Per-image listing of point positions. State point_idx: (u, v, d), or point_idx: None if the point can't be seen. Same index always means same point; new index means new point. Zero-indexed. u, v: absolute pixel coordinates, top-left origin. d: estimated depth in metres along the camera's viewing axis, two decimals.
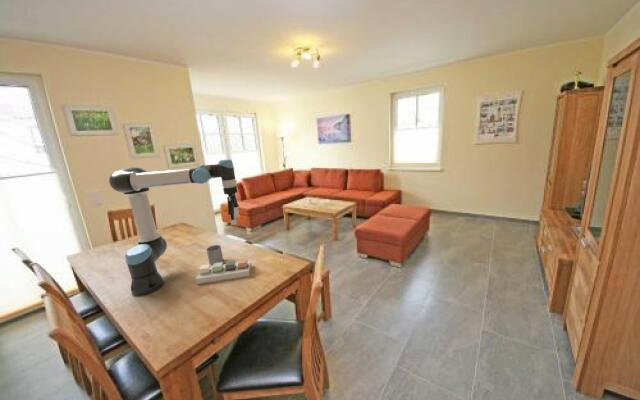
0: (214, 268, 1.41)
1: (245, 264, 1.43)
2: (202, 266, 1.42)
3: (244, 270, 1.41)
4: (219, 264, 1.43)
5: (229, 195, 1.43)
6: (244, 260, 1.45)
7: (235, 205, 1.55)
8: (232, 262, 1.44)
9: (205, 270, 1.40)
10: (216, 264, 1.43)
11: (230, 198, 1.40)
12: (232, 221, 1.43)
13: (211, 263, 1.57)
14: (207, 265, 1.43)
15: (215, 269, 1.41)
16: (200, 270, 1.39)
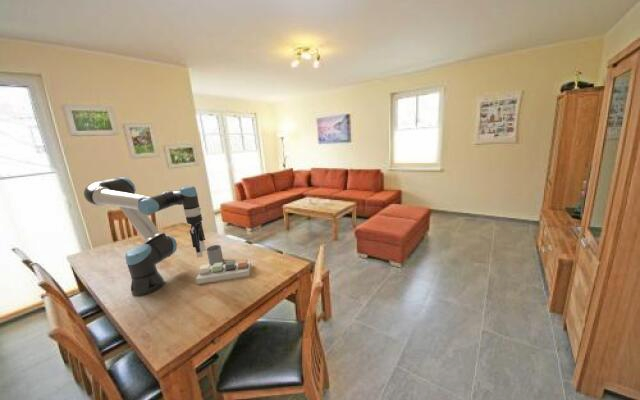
0: (214, 268, 1.41)
1: (245, 264, 1.43)
2: (202, 266, 1.42)
3: (244, 270, 1.41)
4: (219, 264, 1.43)
5: (192, 225, 1.31)
6: (244, 260, 1.45)
7: (201, 238, 1.41)
8: (232, 262, 1.44)
9: (205, 270, 1.40)
10: (216, 264, 1.43)
11: (193, 231, 1.29)
12: (198, 253, 1.36)
13: (211, 263, 1.57)
14: (207, 265, 1.43)
15: (215, 269, 1.41)
16: (200, 270, 1.39)
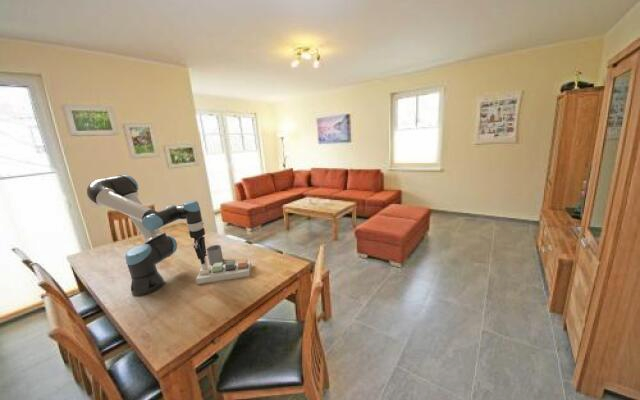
0: (214, 268, 1.41)
1: (245, 264, 1.43)
2: None
3: (244, 270, 1.41)
4: (219, 264, 1.43)
5: (195, 239, 1.33)
6: (244, 260, 1.45)
7: None
8: (232, 262, 1.44)
9: (205, 271, 1.40)
10: (216, 264, 1.43)
11: (197, 247, 1.32)
12: (203, 265, 1.41)
13: (211, 263, 1.57)
14: None
15: (215, 269, 1.41)
16: (200, 271, 1.40)
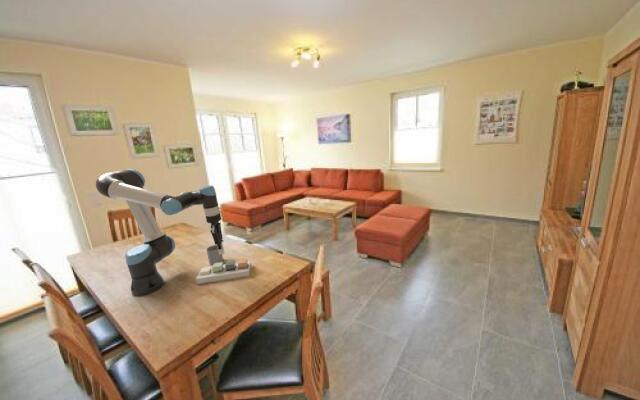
0: (214, 268, 1.41)
1: (245, 264, 1.43)
2: (203, 269, 1.43)
3: (244, 270, 1.41)
4: (219, 264, 1.43)
5: (212, 224, 1.33)
6: (244, 260, 1.45)
7: None
8: (232, 262, 1.44)
9: (206, 273, 1.40)
10: (216, 264, 1.43)
11: (214, 231, 1.31)
12: (219, 250, 1.40)
13: (211, 263, 1.57)
14: (208, 268, 1.43)
15: (215, 269, 1.41)
16: (201, 273, 1.40)
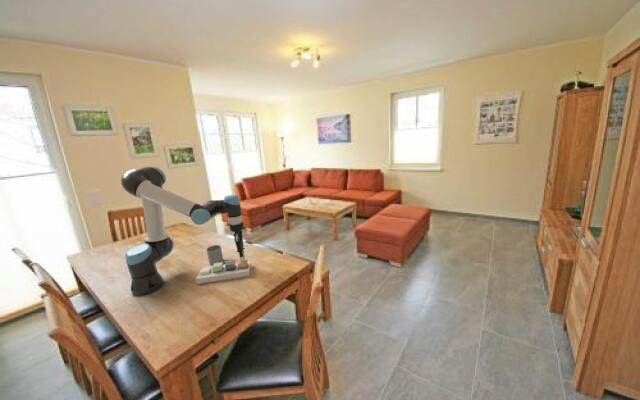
0: (214, 268, 1.41)
1: (245, 264, 1.43)
2: (203, 269, 1.43)
3: (244, 270, 1.41)
4: (219, 264, 1.43)
5: (235, 232, 1.36)
6: (244, 261, 1.45)
7: None
8: (232, 262, 1.44)
9: (206, 273, 1.40)
10: (216, 264, 1.43)
11: (238, 240, 1.35)
12: (241, 258, 1.44)
13: (211, 263, 1.57)
14: (208, 268, 1.43)
15: (215, 269, 1.41)
16: (201, 273, 1.40)
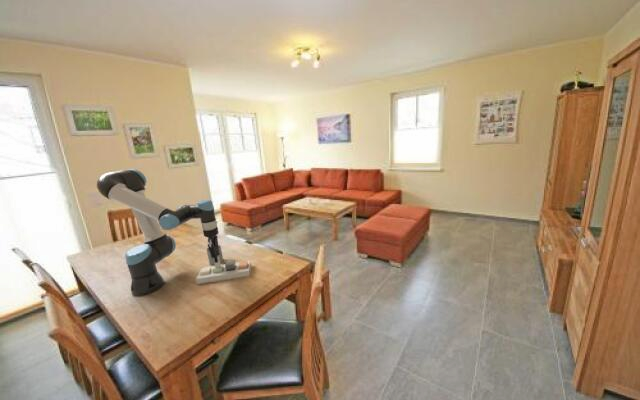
0: (214, 270, 1.41)
1: (245, 267, 1.44)
2: (203, 269, 1.43)
3: (244, 270, 1.41)
4: None
5: (209, 238, 1.35)
6: (244, 263, 1.46)
7: None
8: (232, 262, 1.44)
9: (206, 273, 1.40)
10: None
11: (211, 245, 1.33)
12: (216, 263, 1.42)
13: (211, 263, 1.57)
14: (208, 268, 1.43)
15: (215, 271, 1.41)
16: (201, 273, 1.40)
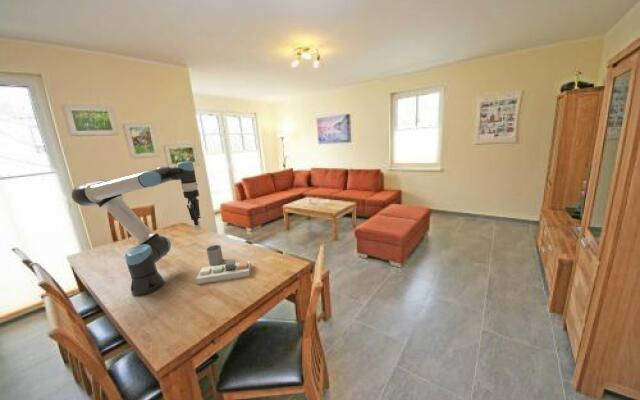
0: (215, 271, 1.41)
1: (245, 267, 1.44)
2: (203, 269, 1.43)
3: (244, 270, 1.41)
4: (220, 267, 1.43)
5: (189, 199, 1.35)
6: (244, 263, 1.46)
7: None
8: (232, 262, 1.44)
9: (206, 273, 1.40)
10: (217, 267, 1.44)
11: (190, 206, 1.34)
12: (196, 226, 1.43)
13: (211, 263, 1.57)
14: (208, 268, 1.43)
15: (216, 272, 1.41)
16: (201, 273, 1.40)
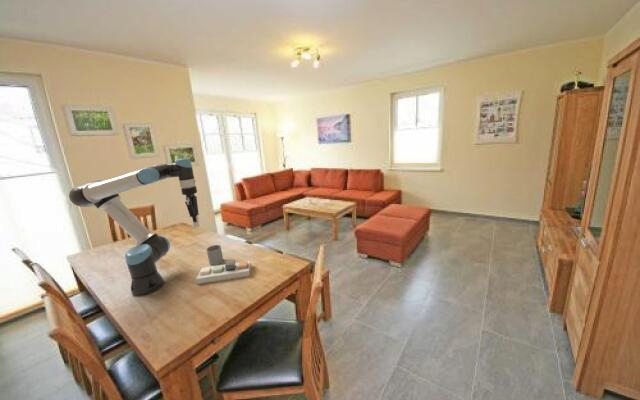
0: (215, 271, 1.41)
1: (245, 267, 1.44)
2: (203, 269, 1.43)
3: (244, 270, 1.41)
4: (220, 267, 1.43)
5: (187, 196, 1.36)
6: (244, 263, 1.46)
7: None
8: (232, 262, 1.44)
9: (206, 273, 1.40)
10: (217, 267, 1.44)
11: (189, 203, 1.35)
12: (195, 223, 1.43)
13: (211, 263, 1.57)
14: (208, 268, 1.43)
15: (216, 272, 1.41)
16: (201, 273, 1.40)
